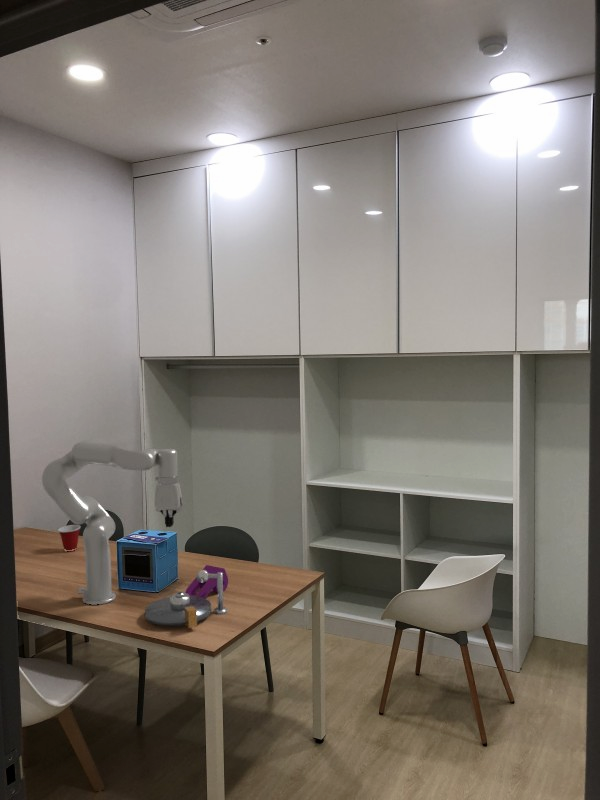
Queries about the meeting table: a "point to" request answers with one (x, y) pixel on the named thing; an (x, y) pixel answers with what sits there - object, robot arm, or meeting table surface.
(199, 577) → the dial post
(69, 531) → the plastic cup
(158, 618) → the turntable
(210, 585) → the mounting bracket
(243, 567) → the meeting table surface
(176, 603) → the cover
